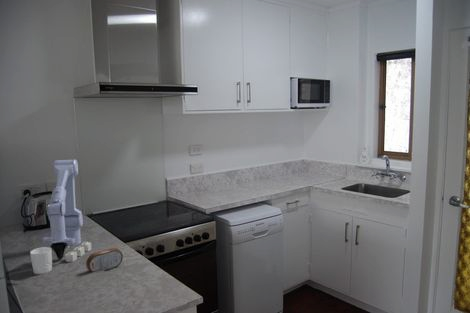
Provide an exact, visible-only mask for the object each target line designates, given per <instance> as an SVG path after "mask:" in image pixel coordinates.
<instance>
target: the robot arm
mask: <svg viewBox="0 0 470 313" xmlns="http://www.w3.org/2000/svg"><path fill="white" fill-rule="evenodd" d="M53 170H54V173H55V175H56V184H55V188H53V189H52V191H51V192H52V193H51V197H50V201H49V202H50V203H49V204H47V206H46V213H47V214H46V215H47V217H48V221H49V225H50V235H51V237H50V236H45V237H44V238H42V243H43V244H45V243H51V244H50V248H52V251H54V253H55V256H56V258H57V259H58V260H61V259H63V258H64V256H65V251H66V250H65V249H66V247H67V246H69V247H71V246H77V245H81V244H82V239H81V238H82V237H81V227H82V226H83V224H84V218H83V213H82V211H81V210H79V209H78V208H76V206H77V205H76V203H77V202H76V185H75V184H76V182H75V177H76V176H78V175H79V163H78V160H77V159H76V158H75V159H62V160H61V159H59V160H58V159H55V161H54V162H53Z"/></svg>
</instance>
